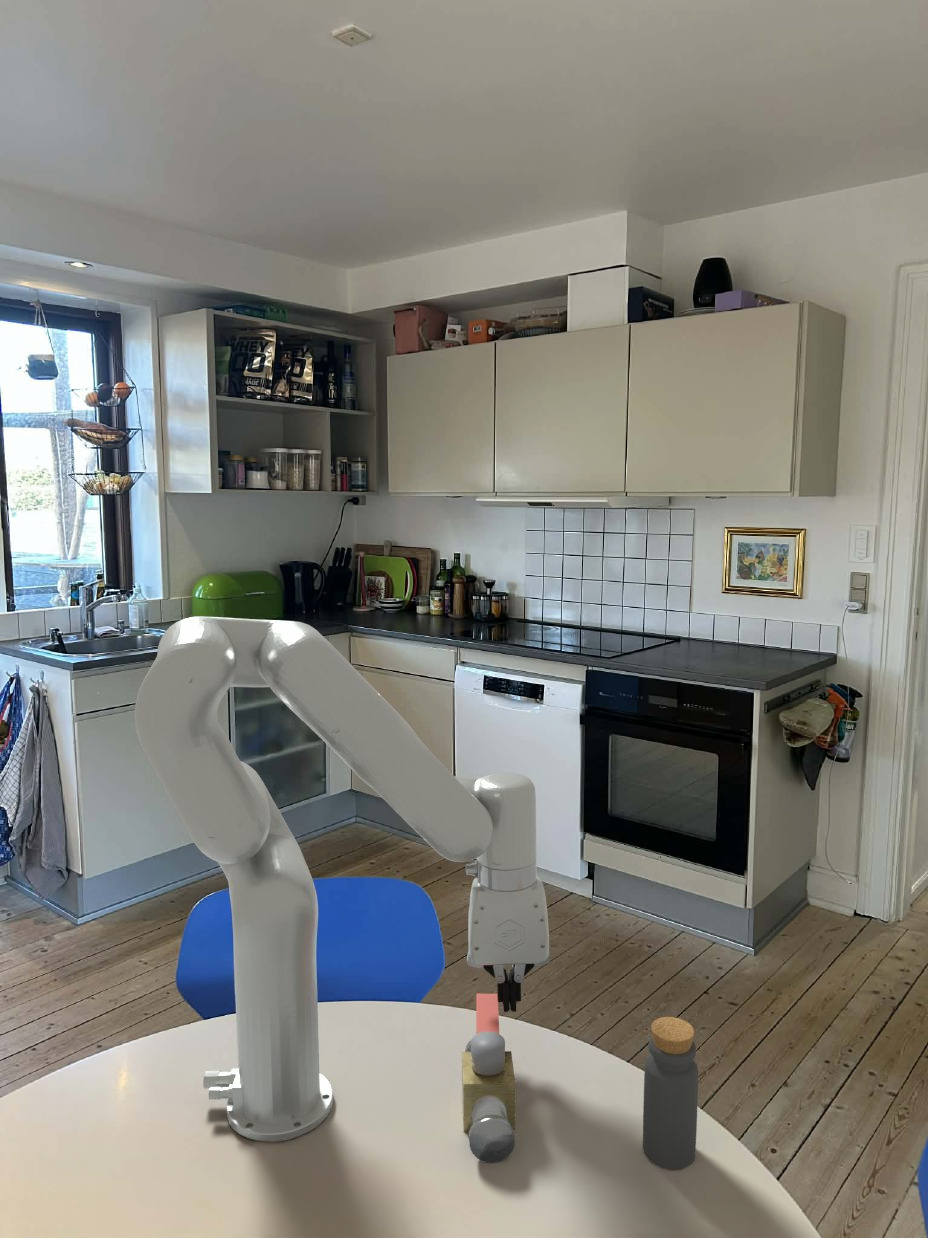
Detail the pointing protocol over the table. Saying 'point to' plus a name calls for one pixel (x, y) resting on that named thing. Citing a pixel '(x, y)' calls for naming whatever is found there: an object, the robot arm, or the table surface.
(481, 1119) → the valve body
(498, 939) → the robot arm
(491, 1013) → the lever
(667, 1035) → the bottle
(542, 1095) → the table surface
